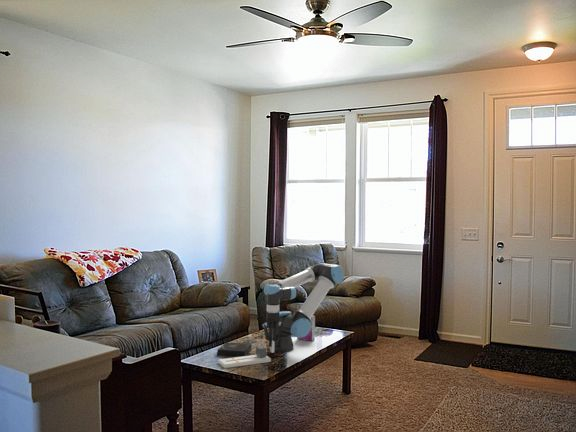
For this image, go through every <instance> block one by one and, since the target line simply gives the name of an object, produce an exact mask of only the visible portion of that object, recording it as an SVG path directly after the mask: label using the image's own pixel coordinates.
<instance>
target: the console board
mask: <svg viewBox="0 0 576 432" xmlns="http://www.w3.org/2000/svg"><path fill="white" fill-rule="evenodd" d="M271 362H272V358H271V357H270V356H268V355H266V357H258V356H257V355H256V354H251V355H246V356H242V357H227V358H220V359H218V364H219V365H220V366H222V367H223V368H224V369H228V368H234V367H235V368H237V367H242V366H250V365H255V364H257V365H258V364H264V363H271Z"/></svg>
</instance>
